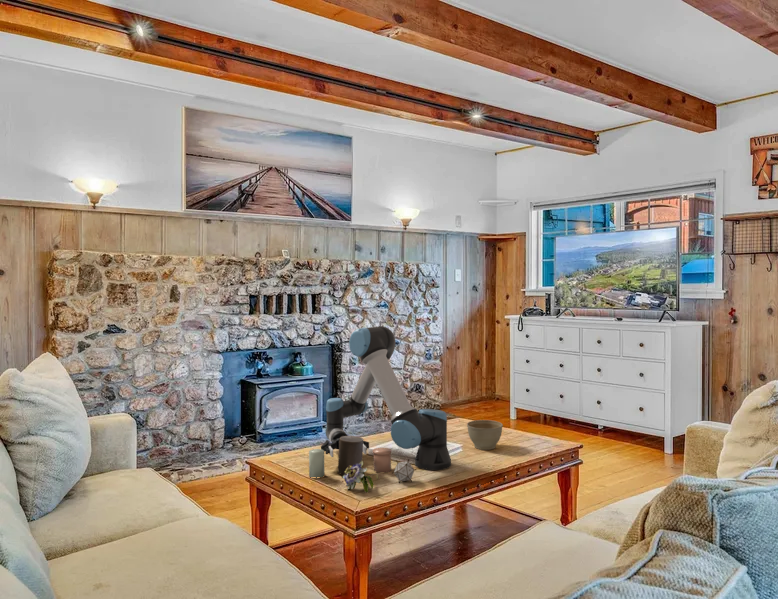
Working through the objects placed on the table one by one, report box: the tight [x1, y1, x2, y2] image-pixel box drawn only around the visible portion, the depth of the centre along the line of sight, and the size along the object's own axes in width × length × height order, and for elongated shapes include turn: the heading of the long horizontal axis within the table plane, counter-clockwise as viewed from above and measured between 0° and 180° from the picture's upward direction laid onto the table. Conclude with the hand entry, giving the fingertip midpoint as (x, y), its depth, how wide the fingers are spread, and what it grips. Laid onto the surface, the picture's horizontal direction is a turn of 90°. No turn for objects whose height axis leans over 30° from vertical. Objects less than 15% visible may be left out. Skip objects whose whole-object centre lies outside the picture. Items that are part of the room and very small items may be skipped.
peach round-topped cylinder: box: [372, 447, 393, 473], centre depth 245 cm, size 8×8×8 cm
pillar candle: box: [337, 435, 365, 476], centre depth 242 cm, size 10×10×15 cm
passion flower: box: [342, 460, 379, 493], centre depth 224 cm, size 11×11×12 cm
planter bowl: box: [466, 419, 503, 451], centre depth 277 cm, size 16×16×11 cm
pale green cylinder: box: [308, 448, 326, 478], centre depth 238 cm, size 6×6×10 cm
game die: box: [391, 459, 417, 484], centre depth 231 cm, size 9×8×10 cm
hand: (349, 452), depth 241 cm, fingers open, 13 cm apart
